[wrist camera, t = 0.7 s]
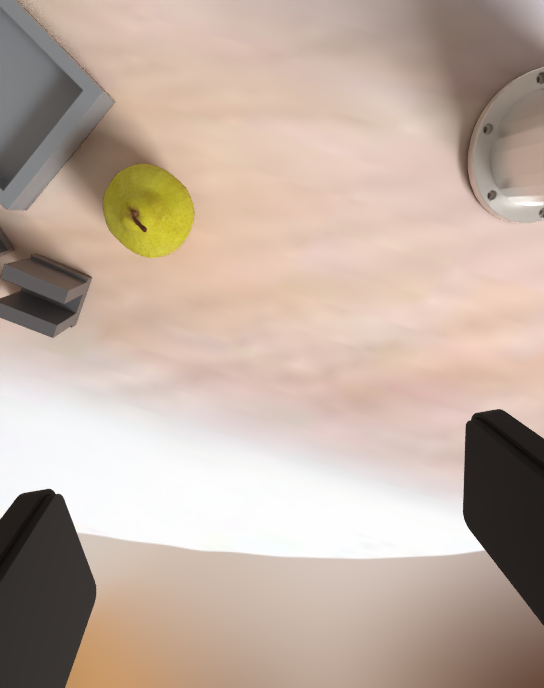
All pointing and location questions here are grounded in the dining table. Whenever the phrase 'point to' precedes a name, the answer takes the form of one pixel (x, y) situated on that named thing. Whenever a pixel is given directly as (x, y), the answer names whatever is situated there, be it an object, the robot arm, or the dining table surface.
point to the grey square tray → (39, 106)
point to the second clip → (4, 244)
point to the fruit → (148, 210)
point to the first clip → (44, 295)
